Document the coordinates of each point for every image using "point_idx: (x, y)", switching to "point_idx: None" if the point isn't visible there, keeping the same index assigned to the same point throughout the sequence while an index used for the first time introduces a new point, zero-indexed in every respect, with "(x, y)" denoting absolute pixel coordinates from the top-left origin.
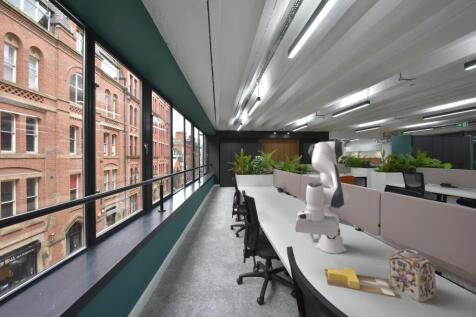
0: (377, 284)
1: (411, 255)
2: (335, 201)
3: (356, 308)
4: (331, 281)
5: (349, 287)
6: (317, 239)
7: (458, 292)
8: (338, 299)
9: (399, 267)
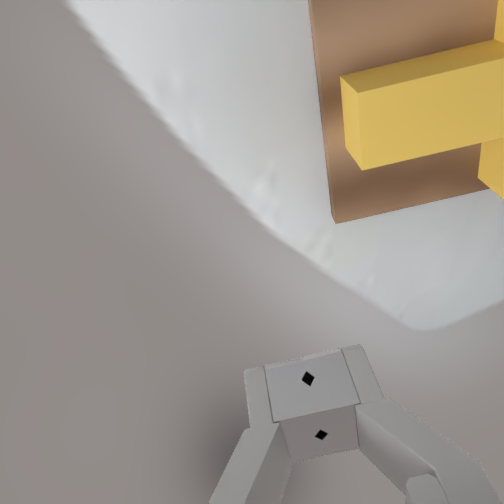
0: None
1: None
2: None
3: (458, 302)
4: (363, 170)
5: (478, 176)
6: (358, 438)
7: None
8: (384, 288)
9: None
